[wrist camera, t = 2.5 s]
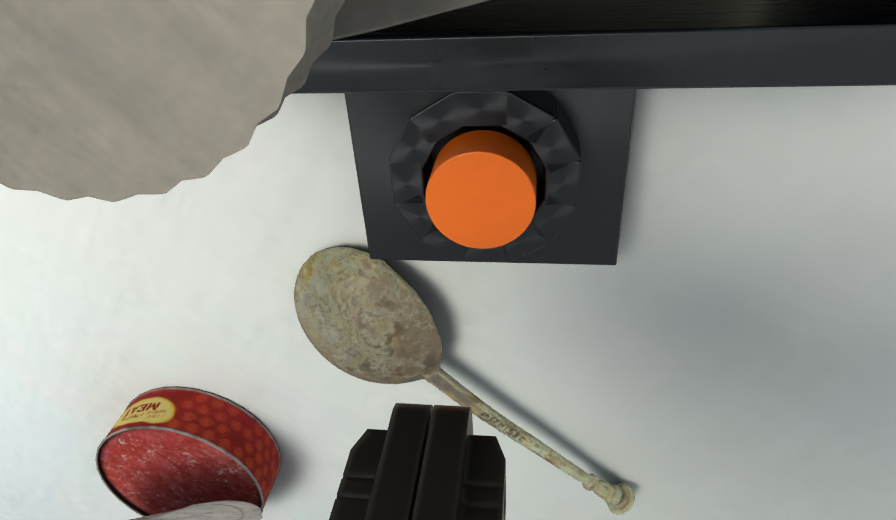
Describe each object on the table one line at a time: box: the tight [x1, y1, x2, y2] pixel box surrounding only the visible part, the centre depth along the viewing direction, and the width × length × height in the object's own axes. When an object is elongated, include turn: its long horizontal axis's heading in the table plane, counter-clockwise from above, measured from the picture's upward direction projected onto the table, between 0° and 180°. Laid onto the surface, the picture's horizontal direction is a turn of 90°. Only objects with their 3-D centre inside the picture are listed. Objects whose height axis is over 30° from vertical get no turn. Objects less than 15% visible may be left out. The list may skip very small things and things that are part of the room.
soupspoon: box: [294, 246, 635, 515], centre depth 31 cm, size 22×3×7 cm
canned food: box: [96, 387, 281, 520], centre depth 36 cm, size 11×10×10 cm
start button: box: [425, 130, 537, 249], centre depth 21 cm, size 4×4×2 cm
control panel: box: [345, 89, 636, 265], centre depth 23 cm, size 9×10×4 cm
